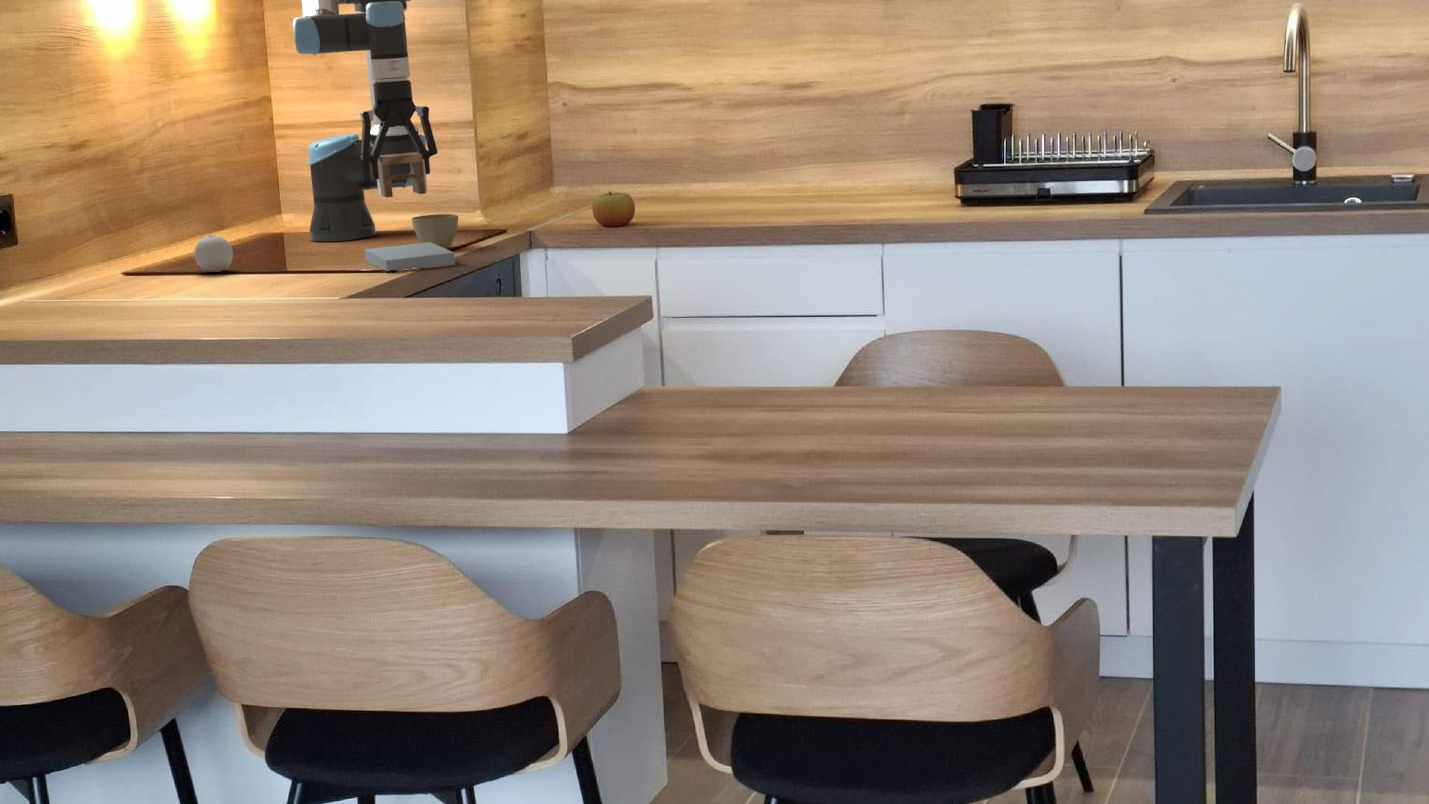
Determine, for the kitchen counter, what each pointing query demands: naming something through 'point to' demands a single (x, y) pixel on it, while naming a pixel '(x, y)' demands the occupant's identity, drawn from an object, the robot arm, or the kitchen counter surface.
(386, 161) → the stool
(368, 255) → the plinth
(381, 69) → the robot arm
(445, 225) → the flower pot
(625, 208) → the apple
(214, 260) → the grey ball
